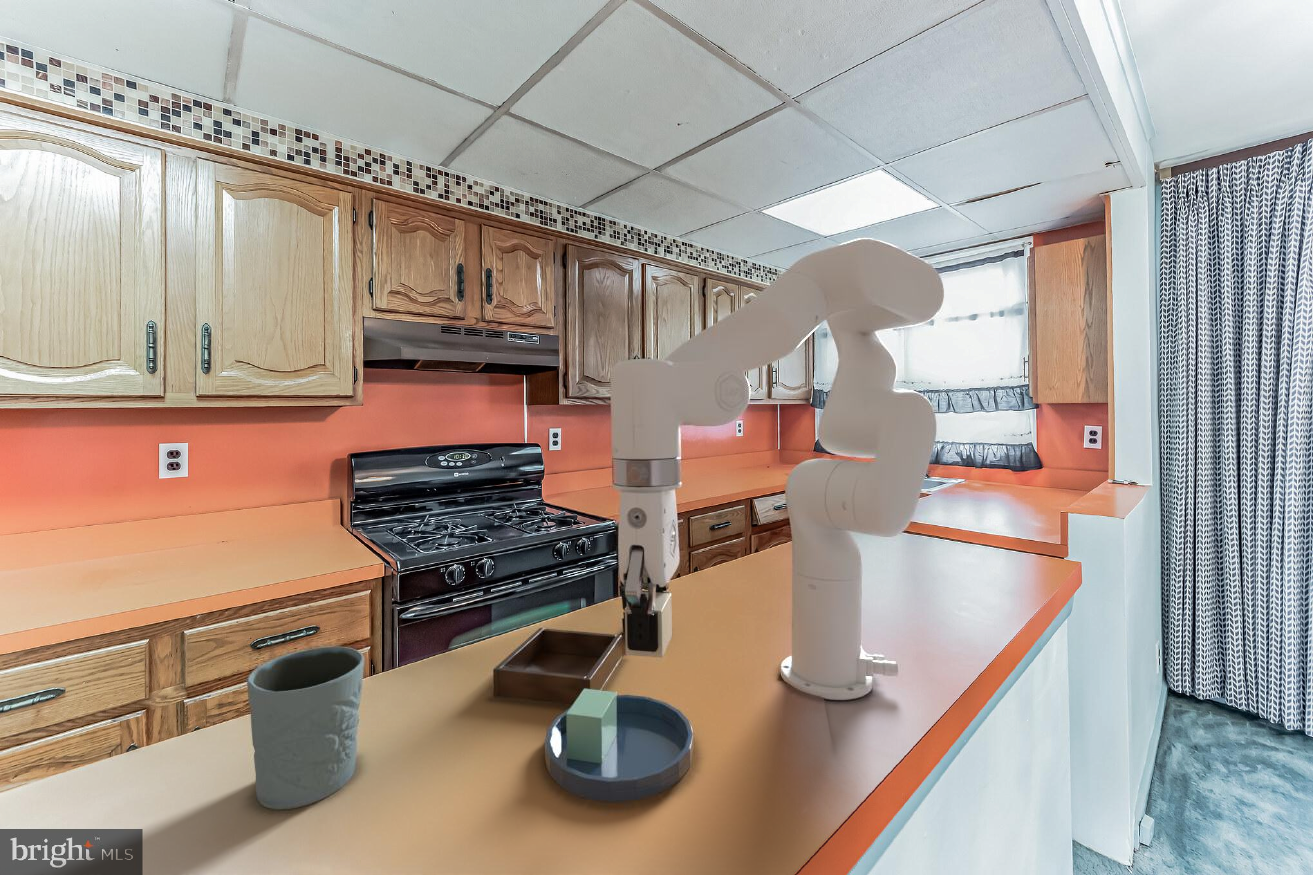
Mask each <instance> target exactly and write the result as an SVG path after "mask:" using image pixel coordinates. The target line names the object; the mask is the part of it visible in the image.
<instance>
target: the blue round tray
mask: <svg viewBox="0 0 1313 875" xmlns="http://www.w3.org/2000/svg"><path fill="white" fill-rule="evenodd" d="M570 708H571V707H569V708H568V709H566V710H564V711H563V712H562V713H561V714H559V715H558V716H556V717H555V719H554V720H553V721H552V723H551V724H550V725H549V727H548V728H547V731H546V735H545V740H544V762H545V764H546V769H547V771H548V773H549V776H550V777H551V778H552V780H553V781H554V782H555V783H556V784H558V786H560V788H562V789H564V790H566V791H567V792H568V793H571V794H573V795H575V796H578V797H581V798H584V799H587V800H591V801H598V802H606V803H607V802H608V803H611V802H612V803H620V802H631V801H636V800H637V801H638V800H642V799H645V798H649V797H652V796H655V795H657V794H660V793H662V792H665V791H666V790H668V789H670V788H671V787H672V786H674V785H675V784H676V783H677V782H679V781H680V780H681V779H682V778H683V777H684V776H685V774H686V773H687V772H688V770H689V769H690V768H691V764H692V761H693V756H694V753H695V752H694V751H695V746H694V744H695V743H694V738H695V735H694V731H693V728H692V725H691V722H690V720H689V719H688V718H687V717H686V716H685V714H684V713H683V712H682V711H681V710H680V709H678V708H676V707H674V706H673V705H671V704H669V702H668V703H667V702H666V701H663V700H659V699H656V698H652V697H650V696H643V695H633V694H617V734H616V736H615V738H614V740H613V742H612V744H611V746H610V748H609V750H608V752H607V754H606V756H605V758H604V760H603V762H602V764H600V763H593V762H586V761H579V760H572V759H567V719H566V714H567V712H568V711H569V709H570Z"/></svg>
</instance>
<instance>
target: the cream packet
mask: <svg viewBox="0 0 1313 875" xmlns="http://www.w3.org/2000/svg"><path fill="white" fill-rule="evenodd" d="M642 594H646V597H647V600H648V592H642ZM672 604H673V603H672V593H671V592H669V593H656V594H655V612H658V649H657V651H656V652H648V651H635V650H629V649H628V646H627V607H626V608H625V611H624V612H625V634H624V637H625V656H635V657H636V656H637V657H647V658H648V657H649V658H661V659H662V658H664V656H665V653H666V650H667V648H668V646H669V644H670V641H671V640H672V637H673V617H672V616H673V611H672V610H673V609H672V608H673V607H672Z"/></svg>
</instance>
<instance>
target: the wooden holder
mask: <svg viewBox="0 0 1313 875" xmlns="http://www.w3.org/2000/svg"><path fill="white" fill-rule="evenodd" d="M622 639H623V636H622V634H613V633H600V632H590V631H577V630H566V629H556V628H545V627H539V628H538V629H536V630H535V632H534V633H532V634H531V635H530V636H529V637H528V638H527V639H525V640H524V642H522V643H521V644H520V645H519V646H518V647H517V648H515V649H514V650H513V651H512V652H511V653H510V654H509V655H508V656H506V657H505V658H504V659H503V660H502V661H501V662H500V663H499V664H498V665H496V666H495V667H494V668H492V674H493V675H492V677H493V678H492V683H493V684H492V687H493V688H492V690H493V691H492V692H493V697H496V698H497V697H498V698H503V699H515V700H521V701H530V702H537V703H538V702H539V703H548V704H555V705H565V706H572V705H573V704H574V702H575V701H576V700H577V698H578V697H579V695H580V694H581V692H582V691H583V690H584V689H592V690H601V691H603V688H604V687H605V686H606V684H607V682H608V681H609V679H610V678H611V676H612V674H613V673H614V671H615V670H616V668H617V667H618V666H620V665H621V663H622V661H623V646H622V643H623V642H622Z"/></svg>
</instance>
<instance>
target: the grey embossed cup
mask: <svg viewBox="0 0 1313 875" xmlns="http://www.w3.org/2000/svg"><path fill="white" fill-rule="evenodd" d="M364 666H365V656H364V655H363V653H362V652H360V651H359V650H358V649H355V648H352V647H349V646H348V647H346V646H339V645H338V646H337V645H334V646H333V645H332V646H319V647H314V648H313V647H312V648H308V649H302V650H297V651H294V652H290V653H287V654H284V655H281V656H278V657H275V658H272V659H271V660H269V661H267V662H265V663H262V664H261V665H259V666H258V667H256V668H255V669H254V670H253V671H252V672H251V673H249V676H248V677H247V680H246V685H247V698H248V699H247V700H248V706H249V710H250V727H251V740H252V746H253V750H254V753H253V762H254V773H255V792H256V798H257V800H258V801H259V803H260V804H261V806H263V807H265V808H266V809H267V808H268V809H271V810H279V811H280V810H281V811H282V810H292V809H297V808H301V807H305V806H308V805H311V804H315V803H316V802H319V801H321V800H324V799H325V798H327V797H329V796H331V795H332V794H334V793H336V792H337V791H339V790H340V789H341V788H343V787H344V786H345V785H346V784H347V783H348V782H349V781H350V780H351V778H352V777H353V775H354V774H355V769H356V765H357V754H358V738H357V735H358V726H359V722H360V716H359V710H360V706H361V699H362V691H363V690H362V689H363V681H364V680H363V678H364V668H365V667H364Z"/></svg>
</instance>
